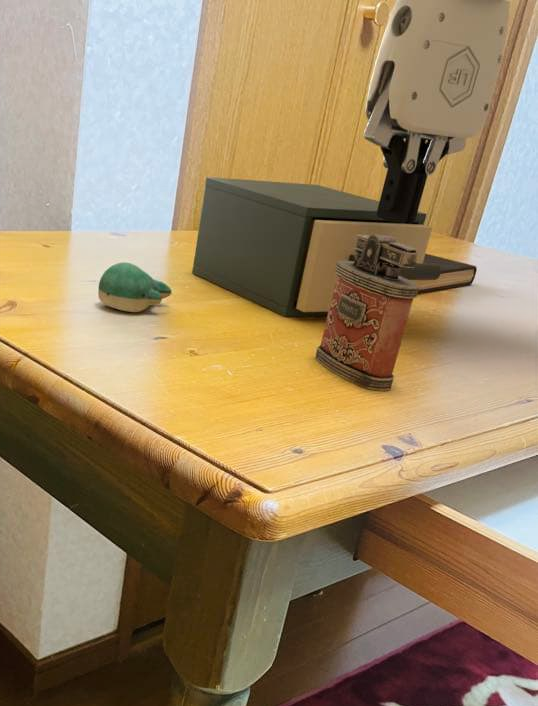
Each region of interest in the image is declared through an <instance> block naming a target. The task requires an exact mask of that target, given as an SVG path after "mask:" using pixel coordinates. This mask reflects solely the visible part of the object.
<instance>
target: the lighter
mask: <svg viewBox="0 0 538 706" xmlns="http://www.w3.org/2000/svg"><path fill="white" fill-rule="evenodd" d="M354 249H355V253H354V255H355V261H338V262H337V265H336V269H335V273H337V276H336V281H335V285H334V289H333V294H332V298H331V302H330V307H329V311H328V315H327V316H326V319H325V324H324V329H323V333H322V337H321V342H320V345H318V346H317V347H316V352H315V357H314V358H315V360H316V361H318V362H319V363H320V364H321V365H322V366H323V367H325V368H326V369H328V370H329V371H330V372H332V373H334V374H336V375H338V376H340V377H341V378H343V379H345V380H347V381H349V382H352V383H354V384H355V385H357V386H360V387H363V388H364V389H369V390H374V391H389V390H391V389H392V386H393V383H394V379H395V375H394V374H393V373H394V369H395V365H396V362H397V359H398V355H399V352H400V347H401V344H402V341H403V337H404V333H405V329H406V326H407V324H408V319H409V315H410V312H411V308H412V305H413V301H414V299H416V298H417V297H418V294H417V293H418V290H419V285H418V284H416V283H414V282H412V281H410V280H408V279H406V278H403V277H401V276H399V272H400V267H399V266H401V267H406V268H415V264H416V260H417V257H418V253H417V252H416V250H417V249H415V248H412V247H409V246H407V245H404V244H401V243H396V241H395V238H394V237H392V236H383V235H371V236H367V235H358V236H357V240H356V244H355V248H354Z"/></svg>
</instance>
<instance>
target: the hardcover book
mask: <svg viewBox="0 0 538 706" xmlns="http://www.w3.org/2000/svg"><path fill="white" fill-rule="evenodd" d="M423 264H438V265H439V266H440V268H441V274H440V276H439V278H438V279H436V280H418V282H417V284H418V285H419V290H418V293H417V295H420V294H426V293H433V292H437V291H438V292H439V291H444V290H449V289H455V288H461V287H466V286H471V285H472V284H473V282H474V280H475V278H476V276H477V274H476V273H477V270H478V269H477V266H476V265H474V264H469V263H466V262H461V261H458V260H453V259H450V258H445V257H441V256H437V255H433V254H429V253H425V256H424V260H423Z"/></svg>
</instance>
